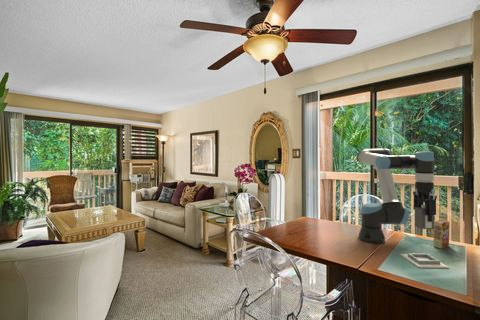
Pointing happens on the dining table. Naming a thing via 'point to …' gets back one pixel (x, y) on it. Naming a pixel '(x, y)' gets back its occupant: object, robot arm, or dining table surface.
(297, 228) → the dining table surface
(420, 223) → the block
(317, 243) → the dining table surface
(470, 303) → the dining table surface
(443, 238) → the candy box
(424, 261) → the end holder
